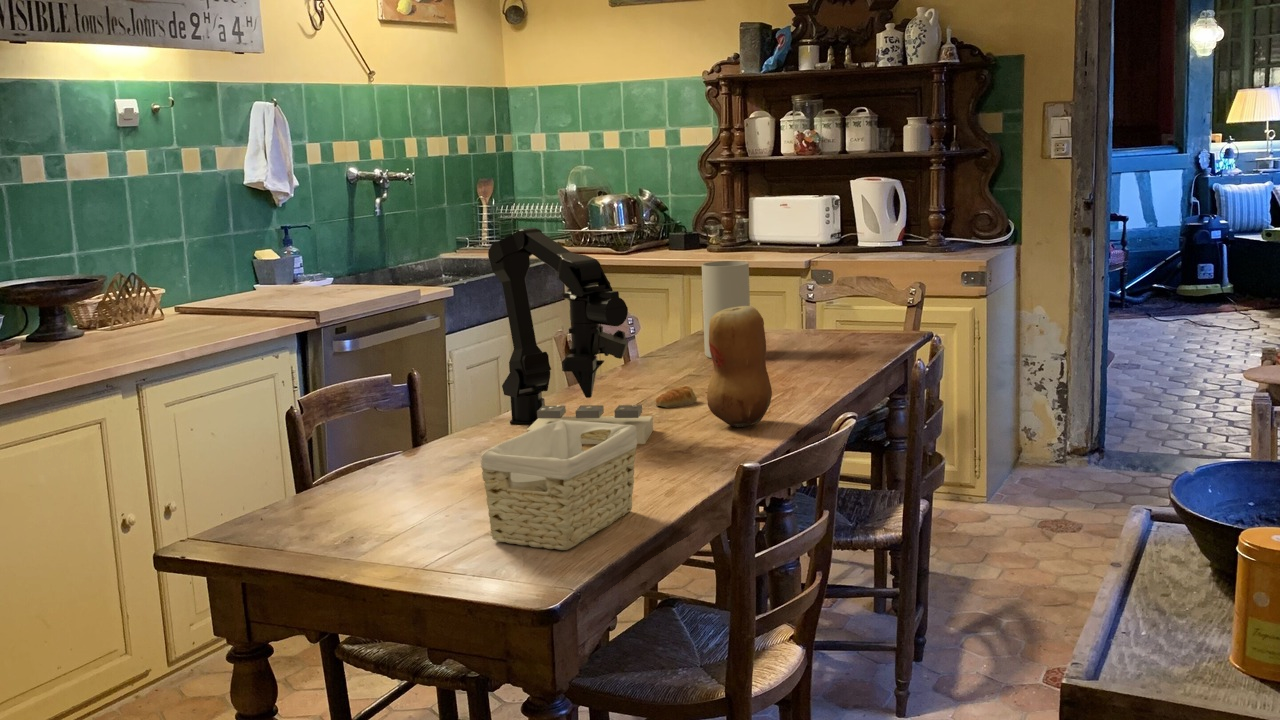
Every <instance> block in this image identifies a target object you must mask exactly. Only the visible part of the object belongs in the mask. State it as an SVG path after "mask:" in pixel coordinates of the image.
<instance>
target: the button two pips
mask: <svg viewBox="0 0 1280 720" xmlns="http://www.w3.org/2000/svg"><path fill="white" fill-rule="evenodd" d="M614 409H615V410H614V416H615V418H639V416H642V414H643V405H642V404H629V405H628V404H623V405H622V404H618V406H617V407H616V408H614Z"/></svg>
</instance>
